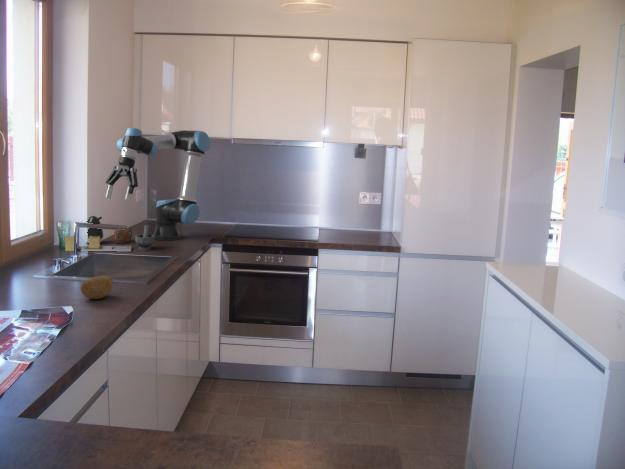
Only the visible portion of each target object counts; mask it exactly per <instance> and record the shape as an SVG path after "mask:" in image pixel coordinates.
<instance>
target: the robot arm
mask: <svg viewBox="0 0 625 469" xmlns="http://www.w3.org/2000/svg"><path fill="white" fill-rule="evenodd" d="M116 148H117V150H118V151H119V152H120V157H119V160H118V165H119V166H116V165H114V166H113V168H112V171H110V174H109V175H108V177H107V178H106V180H105V182H104V183H105V184H107V188H106V193H105V198H107V199H112V196H113V191H114V188H115V186H114V185H115V183H116V182H117V181H118V180H119V179H120V178H122V177H126V180H127V182H128V183H127V184H128V186H127V189H126V194H125V198H124V200H126V201H129V202H130V201H131V199H132V195H133V194H134V190H135V188H138V187H139V185H138V184H139V183H138V175H137V171H138V168H136V167H135V164H136V159H137V155H138V154H139V155H140V154H142V155H145V156H148V157H154V156H155V155H156V154H157V152H158V150H162V149H168V150H179V151H183V153H184V154H185V160H184V166H183V167H184V168H183V174H182V179H181V186H180V193H179V196H178V197H176V199H163V200H162V199H161V200H157V202H156V205H155V206H156V207H155V215H156V216H155V218H156V226H155V228H154V232H153V234H152V235H153V236H154V240H157V241H175V240H176V241H177V240H180V232H179V229H178V226H177V225H178V224H179V223H180V224H183V225H188V224H189V225H191V224H194V223H195V222H196V221H197V220H198V219H199V217H200V213H201V212H200V207H199V206H198V205H197V204H198V202H197V200H196V192H197V186H198V179H199V172H200V167H201V160H202V158H203V157H204V156H205V153H206V152H209V150H210V148H211V138H210V137H209V135H208V134H207V133H206V132H205V131H203V130H201V131H200V130H182V129H181V130H177V131H171V132H167V133H165V134H161V135H148V136H143V131H142V130H141V129H139V128H136V127H127V129H126V132H125V135H124V137H122V138H119V139H118V140H117V142H116ZM177 223H178V224H177Z"/></svg>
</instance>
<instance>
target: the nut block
mask: <svg viewBox="0 0 625 469" xmlns="http://www.w3.org/2000/svg"><path fill="white" fill-rule="evenodd" d="M74 236H75V235H66V236H65V238H64V239H65V241H64V242H65V252H75V251H74Z"/></svg>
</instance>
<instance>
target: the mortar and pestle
mask: <svg viewBox="0 0 625 469" xmlns="http://www.w3.org/2000/svg"><path fill="white" fill-rule="evenodd" d="M143 227H144V229H143V234H136V235H135V236H134V239H135V243H136V245H137V246H138V250H141V251H148V250H151V249H152V246H153V244H154V242H155V239H154V236H153V234H150V225H144V226H143Z"/></svg>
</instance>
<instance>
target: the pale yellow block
mask: <svg viewBox="0 0 625 469" xmlns="http://www.w3.org/2000/svg"><path fill="white" fill-rule="evenodd" d="M88 246H89V249H100V246H101V242H100V236H89V244H88Z"/></svg>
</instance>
